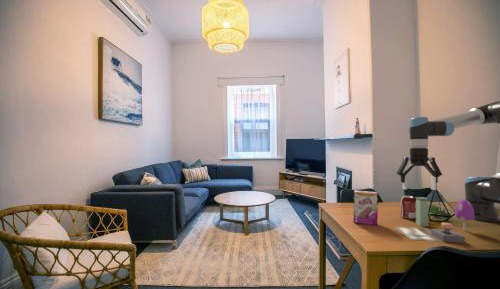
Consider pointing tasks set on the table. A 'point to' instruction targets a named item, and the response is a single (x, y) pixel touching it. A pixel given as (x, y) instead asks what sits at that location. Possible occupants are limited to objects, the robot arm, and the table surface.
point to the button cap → (447, 227)
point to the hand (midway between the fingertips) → (419, 189)
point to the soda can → (408, 207)
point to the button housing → (447, 236)
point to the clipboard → (418, 234)
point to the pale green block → (421, 211)
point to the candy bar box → (365, 207)
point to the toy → (464, 212)
